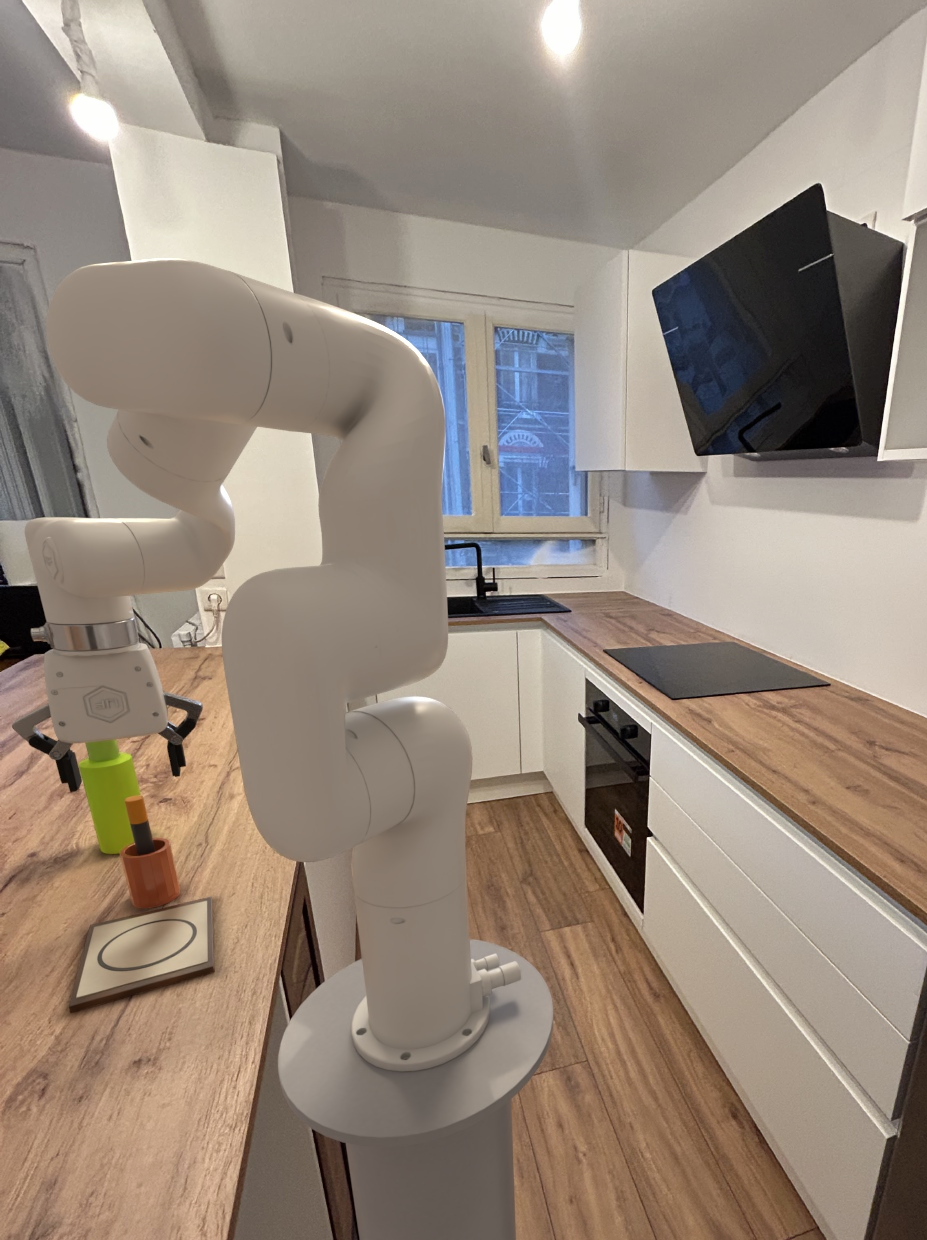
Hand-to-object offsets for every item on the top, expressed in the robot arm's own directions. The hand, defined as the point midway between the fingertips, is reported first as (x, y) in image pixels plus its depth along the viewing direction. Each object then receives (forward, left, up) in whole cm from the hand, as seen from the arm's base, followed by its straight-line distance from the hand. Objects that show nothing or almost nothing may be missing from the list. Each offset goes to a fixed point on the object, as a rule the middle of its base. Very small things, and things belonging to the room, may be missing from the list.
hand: (128, 779), depth 76 cm
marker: (0, 0, -15) cm, 15 cm away
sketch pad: (0, +12, -16) cm, 20 cm away
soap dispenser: (+4, -18, -16) cm, 24 cm away
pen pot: (0, 0, -16) cm, 16 cm away
